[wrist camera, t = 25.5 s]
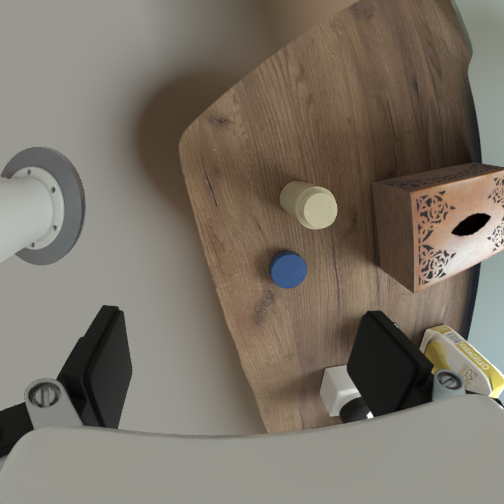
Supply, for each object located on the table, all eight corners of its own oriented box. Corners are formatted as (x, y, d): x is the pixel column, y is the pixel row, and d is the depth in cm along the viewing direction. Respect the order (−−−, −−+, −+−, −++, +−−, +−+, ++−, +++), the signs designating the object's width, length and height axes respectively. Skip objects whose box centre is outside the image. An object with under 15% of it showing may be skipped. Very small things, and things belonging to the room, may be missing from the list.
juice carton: (423, 325, 52) (494, 394, 29) (447, 319, 53) (516, 379, 30) (412, 360, 55) (471, 430, 32) (436, 352, 56) (494, 414, 33)
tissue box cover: (380, 268, 45) (413, 293, 36) (371, 182, 41) (410, 192, 31) (475, 231, 47) (509, 246, 37) (472, 162, 42) (510, 168, 32)
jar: (272, 203, 40) (290, 217, 31) (292, 173, 39) (316, 178, 30) (301, 222, 41) (324, 240, 32) (320, 193, 40) (349, 204, 31)
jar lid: (294, 288, 44) (297, 293, 43) (263, 277, 43) (265, 282, 41) (309, 257, 43) (313, 261, 41) (278, 245, 42) (281, 248, 40)
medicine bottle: (318, 392, 53) (338, 436, 42) (324, 367, 51) (348, 412, 39) (349, 387, 54) (372, 427, 43) (357, 362, 52) (384, 402, 40)
